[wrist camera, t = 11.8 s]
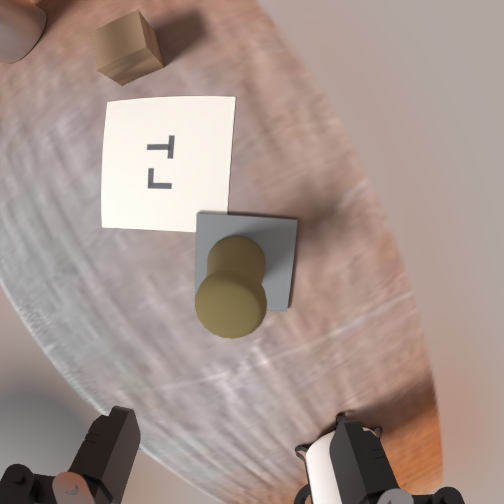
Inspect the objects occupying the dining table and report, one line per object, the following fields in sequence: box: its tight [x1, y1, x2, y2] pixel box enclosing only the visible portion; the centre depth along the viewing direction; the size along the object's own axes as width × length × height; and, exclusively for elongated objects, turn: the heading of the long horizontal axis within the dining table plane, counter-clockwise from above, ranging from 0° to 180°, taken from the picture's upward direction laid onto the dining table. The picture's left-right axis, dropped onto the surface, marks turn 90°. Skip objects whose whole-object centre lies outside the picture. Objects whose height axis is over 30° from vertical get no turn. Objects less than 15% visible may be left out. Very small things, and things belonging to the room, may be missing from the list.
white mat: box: [101, 96, 236, 232], centre depth 28 cm, size 14×14×1 cm
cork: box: [195, 235, 267, 339], centre depth 24 cm, size 6×6×11 cm
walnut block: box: [92, 10, 164, 85], centre depth 21 cm, size 5×5×6 cm
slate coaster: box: [195, 213, 298, 312], centre depth 30 cm, size 10×10×1 cm
